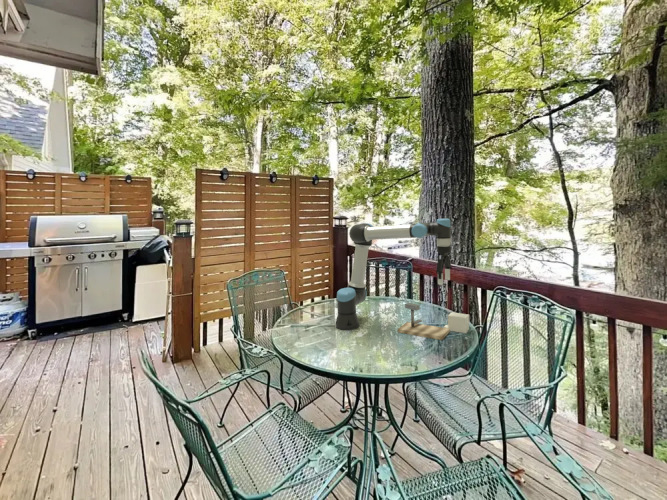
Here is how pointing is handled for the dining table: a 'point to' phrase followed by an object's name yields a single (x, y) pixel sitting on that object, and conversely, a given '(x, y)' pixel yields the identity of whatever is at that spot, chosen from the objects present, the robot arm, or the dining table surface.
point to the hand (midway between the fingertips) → (444, 282)
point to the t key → (413, 307)
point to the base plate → (424, 331)
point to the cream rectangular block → (458, 322)
